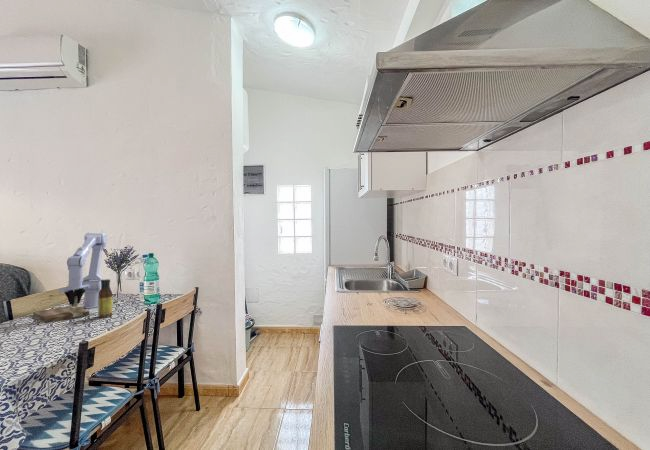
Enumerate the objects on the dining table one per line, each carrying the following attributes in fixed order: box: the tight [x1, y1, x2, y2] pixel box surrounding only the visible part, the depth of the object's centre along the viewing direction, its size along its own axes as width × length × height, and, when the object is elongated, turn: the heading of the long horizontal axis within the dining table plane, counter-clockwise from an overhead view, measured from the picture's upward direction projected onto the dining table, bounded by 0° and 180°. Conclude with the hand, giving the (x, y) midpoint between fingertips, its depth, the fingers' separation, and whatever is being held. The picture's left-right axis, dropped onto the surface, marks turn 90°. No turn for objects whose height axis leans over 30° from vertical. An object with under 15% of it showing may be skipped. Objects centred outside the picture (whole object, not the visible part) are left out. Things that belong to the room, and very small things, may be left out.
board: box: [32, 306, 90, 323], centre depth 167 cm, size 18×20×2 cm
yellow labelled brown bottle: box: [97, 278, 114, 319], centre depth 168 cm, size 6×6×20 cm
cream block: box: [67, 296, 84, 318], centre depth 167 cm, size 4×9×10 cm, turn 57°
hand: (74, 303), depth 167 cm, fingers closed on cream block, 2 cm apart
